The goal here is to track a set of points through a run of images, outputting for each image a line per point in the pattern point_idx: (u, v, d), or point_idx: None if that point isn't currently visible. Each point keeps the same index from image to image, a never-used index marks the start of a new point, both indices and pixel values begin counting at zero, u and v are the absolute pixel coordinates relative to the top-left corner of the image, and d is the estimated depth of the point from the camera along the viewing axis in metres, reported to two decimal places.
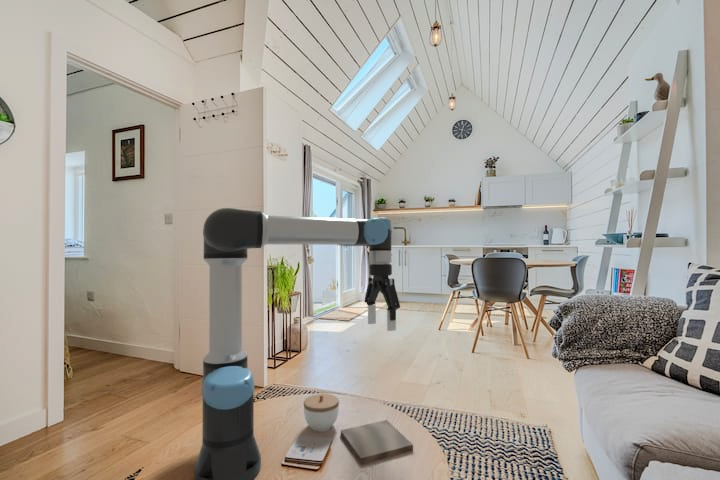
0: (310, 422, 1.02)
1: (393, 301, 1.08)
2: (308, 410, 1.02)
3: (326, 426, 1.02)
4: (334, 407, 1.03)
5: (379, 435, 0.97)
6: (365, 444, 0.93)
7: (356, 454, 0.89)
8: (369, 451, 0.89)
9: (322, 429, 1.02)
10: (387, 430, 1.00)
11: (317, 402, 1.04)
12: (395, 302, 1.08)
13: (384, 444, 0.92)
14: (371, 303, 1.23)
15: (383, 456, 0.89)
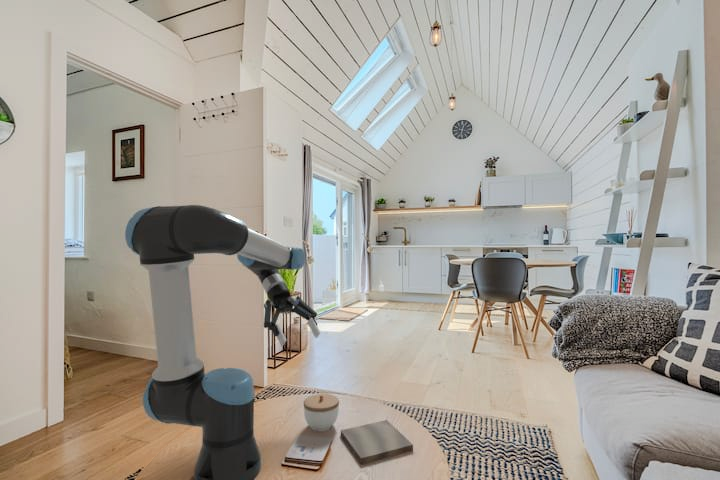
0: (310, 422, 1.02)
1: None
2: (308, 410, 1.02)
3: (326, 426, 1.02)
4: (334, 407, 1.03)
5: (379, 435, 0.97)
6: (365, 444, 0.93)
7: (356, 454, 0.89)
8: (369, 451, 0.89)
9: (322, 429, 1.02)
10: (387, 430, 1.00)
11: (317, 402, 1.04)
12: None
13: (384, 444, 0.92)
14: None
15: (383, 456, 0.89)
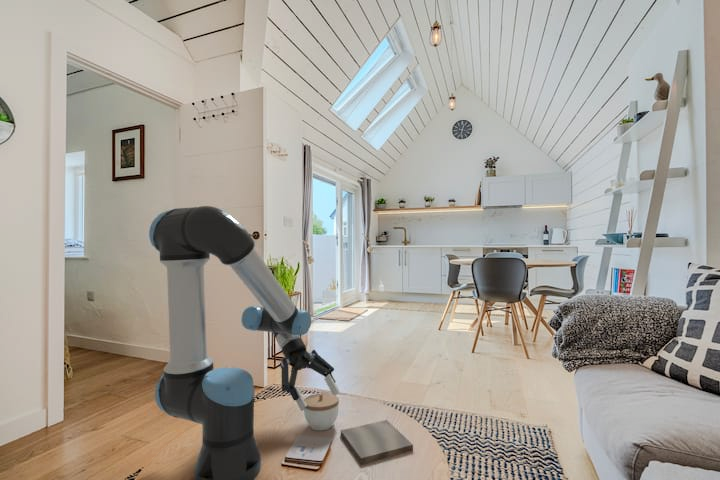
0: (310, 421, 1.02)
1: None
2: (308, 409, 1.02)
3: (326, 425, 1.02)
4: (334, 406, 1.03)
5: (379, 435, 0.97)
6: (365, 444, 0.93)
7: (356, 454, 0.89)
8: (369, 451, 0.89)
9: (322, 428, 1.02)
10: (387, 430, 1.00)
11: (317, 401, 1.04)
12: None
13: (384, 444, 0.92)
14: None
15: (383, 456, 0.89)
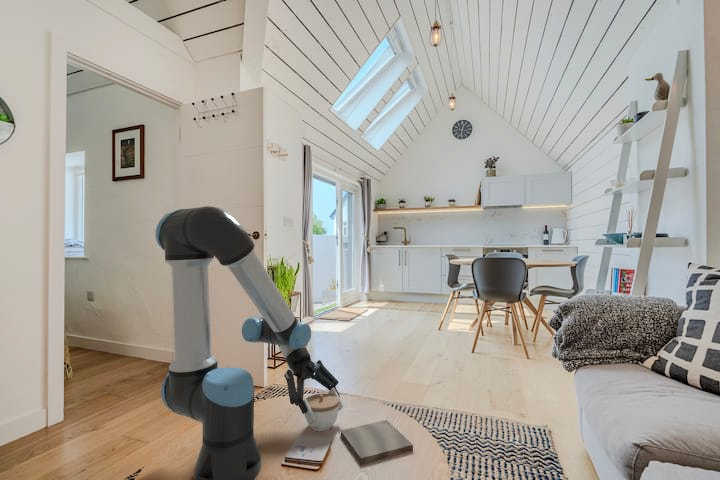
0: None
1: None
2: None
3: (326, 426, 1.02)
4: (334, 407, 1.03)
5: (379, 435, 0.97)
6: (365, 444, 0.93)
7: (356, 454, 0.89)
8: (369, 451, 0.89)
9: (322, 429, 1.02)
10: (387, 430, 1.00)
11: (317, 402, 1.04)
12: None
13: (384, 444, 0.92)
14: None
15: (383, 456, 0.89)
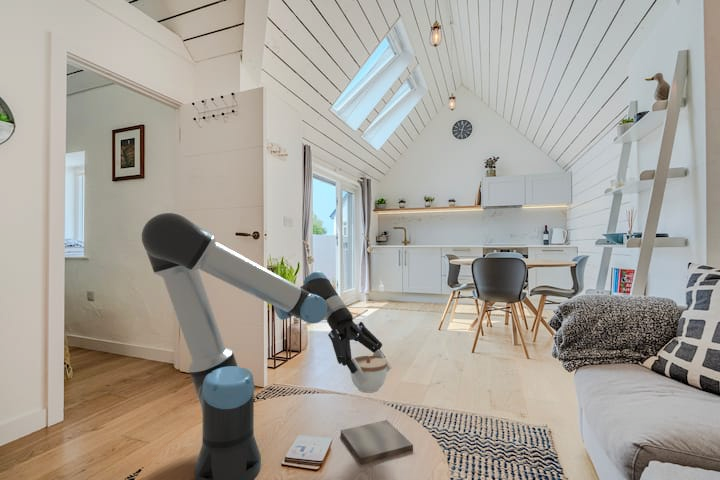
0: None
1: None
2: None
3: (376, 387, 0.96)
4: (384, 367, 0.97)
5: (379, 435, 0.97)
6: (365, 444, 0.93)
7: (356, 454, 0.89)
8: (369, 451, 0.89)
9: (371, 390, 0.96)
10: (387, 430, 1.00)
11: (365, 362, 0.98)
12: None
13: (384, 444, 0.92)
14: None
15: (383, 456, 0.89)
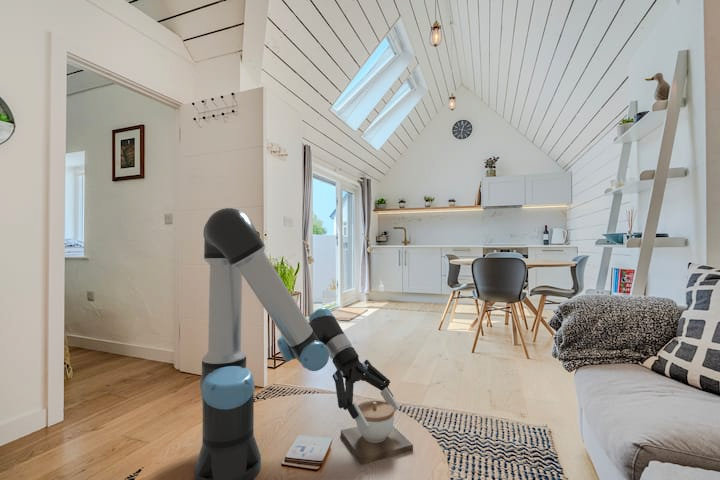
0: (365, 433, 0.92)
1: None
2: None
3: (382, 437, 0.92)
4: (391, 416, 0.93)
5: None
6: (365, 444, 0.93)
7: (356, 454, 0.89)
8: (369, 451, 0.89)
9: (378, 440, 0.93)
10: None
11: (371, 410, 0.95)
12: None
13: (384, 444, 0.92)
14: None
15: (383, 456, 0.89)
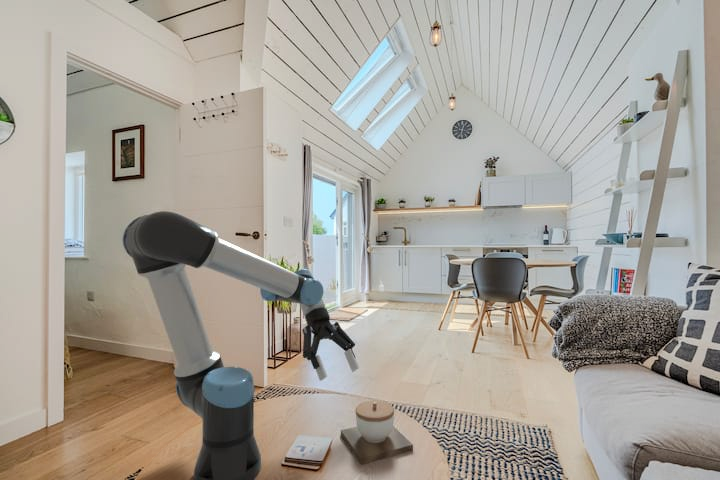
0: (365, 433, 0.92)
1: None
2: (363, 419, 0.92)
3: (382, 437, 0.92)
4: (391, 416, 0.93)
5: None
6: (365, 444, 0.93)
7: (356, 454, 0.89)
8: (369, 451, 0.89)
9: (378, 440, 0.93)
10: None
11: (371, 410, 0.95)
12: None
13: (384, 444, 0.92)
14: None
15: (383, 456, 0.89)
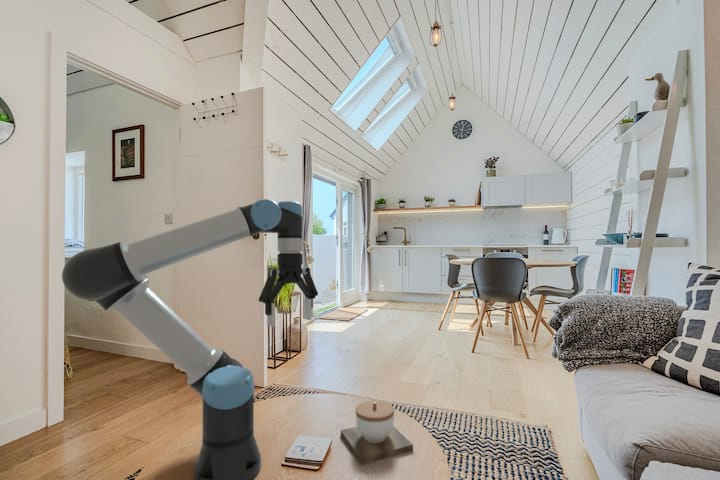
0: (365, 433, 0.92)
1: None
2: (363, 419, 0.92)
3: (382, 437, 0.92)
4: (391, 416, 0.93)
5: None
6: (365, 444, 0.93)
7: (356, 454, 0.89)
8: (369, 451, 0.89)
9: (378, 440, 0.93)
10: None
11: (371, 410, 0.95)
12: None
13: (384, 444, 0.92)
14: None
15: (383, 456, 0.89)
